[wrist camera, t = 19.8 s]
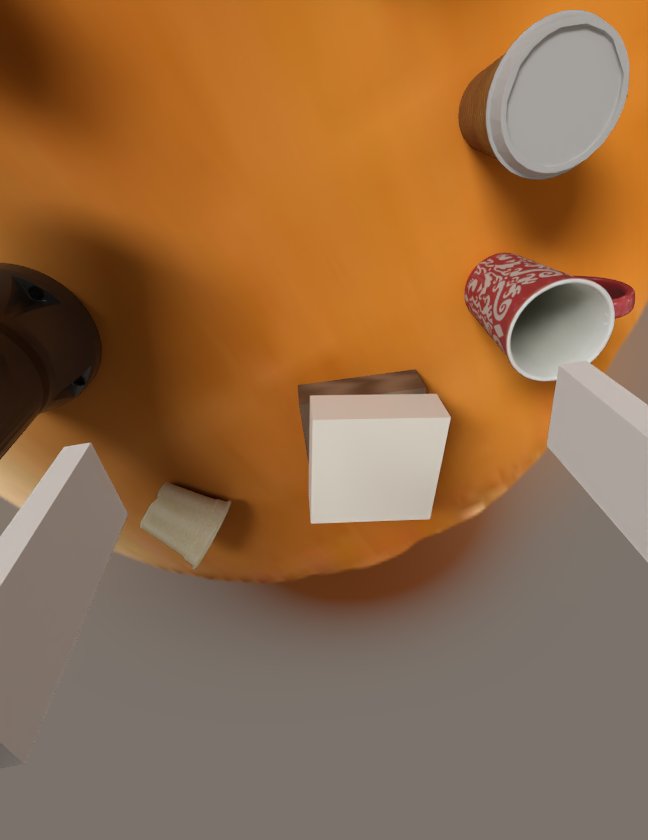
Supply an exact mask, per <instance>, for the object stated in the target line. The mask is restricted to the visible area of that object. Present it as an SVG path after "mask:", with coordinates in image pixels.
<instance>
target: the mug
mask: <svg viewBox="0 0 648 840" xmlns="http://www.w3.org/2000/svg"><path fill="white" fill-rule="evenodd" d="M465 302H466V305H467V307H468V309H469V310H470V312H471V313H472V314H473V315H474V317H475V318H476V319H477V320H478V321H479V322H480V324H481V325H482V326H483V327H484V329H485V330H486V331H487V333H488V334H489V335H490V336H491V337H492V338H493V340H494V341H495V342H496V343H497V344H498V346H499V347H500V348H501V350H502V351H503V352H504V353H505V354H506V355H507V357H508V359H509V362H510V363H511V365H512V366H513V368H514V369H515V370H516V371H517V372H518V373H519V374H521V375H522V376H524V377H526V378H528V379H531V380H535V381H555V380H557V373H558V367H559V365H562V364H568V363H574V362H580V361H588V362H589V363H591V362H592V361H593V360H594V359H595V358H596V357H597V356H598V355H599V354H600V353H601V351H602V350H603V349H604V347H605V346H606V344H607V342H608V340H609V338H610V336H611V333H612V330H613V327H614V321H615V319H616V318H619V317H622V316H624V315H626V314H628V313H629V312H631V311H632V309H633V307H634V304H635V292H634V290H633V288H632V287H631V286H629V285H627V284H625V283H623V282H620V281H616V280H612V279H606V278H599V277H587V276H571V275H568V274H566V273H563V272H560V271H558V270H555V269H552V268H550V267H547V266H544V265H542V264H539V263H537V262H534V261H531V260H528V259H526V258H523V257H521V256H518V255H515V254H511V253H499V254H495V255H492V256H490V257H488V258H486V259H485V260H483V261H482V262H481V263H479V264H478V265H477V266H476V267H475V268H474V270H473V271H472V273H471V274H470V276H469V278H468V280H467V283H466V287H465Z"/></svg>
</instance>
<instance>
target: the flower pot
mask: <svg viewBox="0 0 648 840" xmlns="http://www.w3.org/2000/svg"><path fill="white" fill-rule="evenodd" d="M231 502H232V501H230V500H229V501H228V502H226V501H223V500H220V499H216V500H215V499H212V498H209V497H206V496H203V495H201V494H198V493H195V492H192V491H190V490H187V489H184V488H181V487H179V486H176V485H173V484H171V483H168V482H166V483H164V484H163V486H162V487H161V488H160V490H159V491H158V494H157V499H156V500H155V501H154V502H152V503H151V504H150V505H149V507H148V509H147V511H146V514H145V516H144V517H143V518H142V520H141V524H140V527H141V528H142V529H144V530H146V531H147V532H149V533H150V534H152V535H153V536H155V537H156V538H158V539H159V540H160V541H162V542H163V543H165V544H166V545H168V546H169V547H171V548H172V549H174V550H175V551H177V552H178V553H179V554H181V555H182V556H183V557H184V558H185V560H186V561H188V562H189V563H190V564H192V565H193V569H196V568H197V566H198V565H199V564H200V562H201V561H202V559H203V557H204V556H205V554H206V552H207V550H208V549H209V547H210V545H211V544H212V542H213V540H214V538H215V536H216V534H217V532H218V531H219V529H220V527H221V525H222V523H223V521H224V519H225V517H226V515H227V513H228V510H229V508H230V505H231Z"/></svg>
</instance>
